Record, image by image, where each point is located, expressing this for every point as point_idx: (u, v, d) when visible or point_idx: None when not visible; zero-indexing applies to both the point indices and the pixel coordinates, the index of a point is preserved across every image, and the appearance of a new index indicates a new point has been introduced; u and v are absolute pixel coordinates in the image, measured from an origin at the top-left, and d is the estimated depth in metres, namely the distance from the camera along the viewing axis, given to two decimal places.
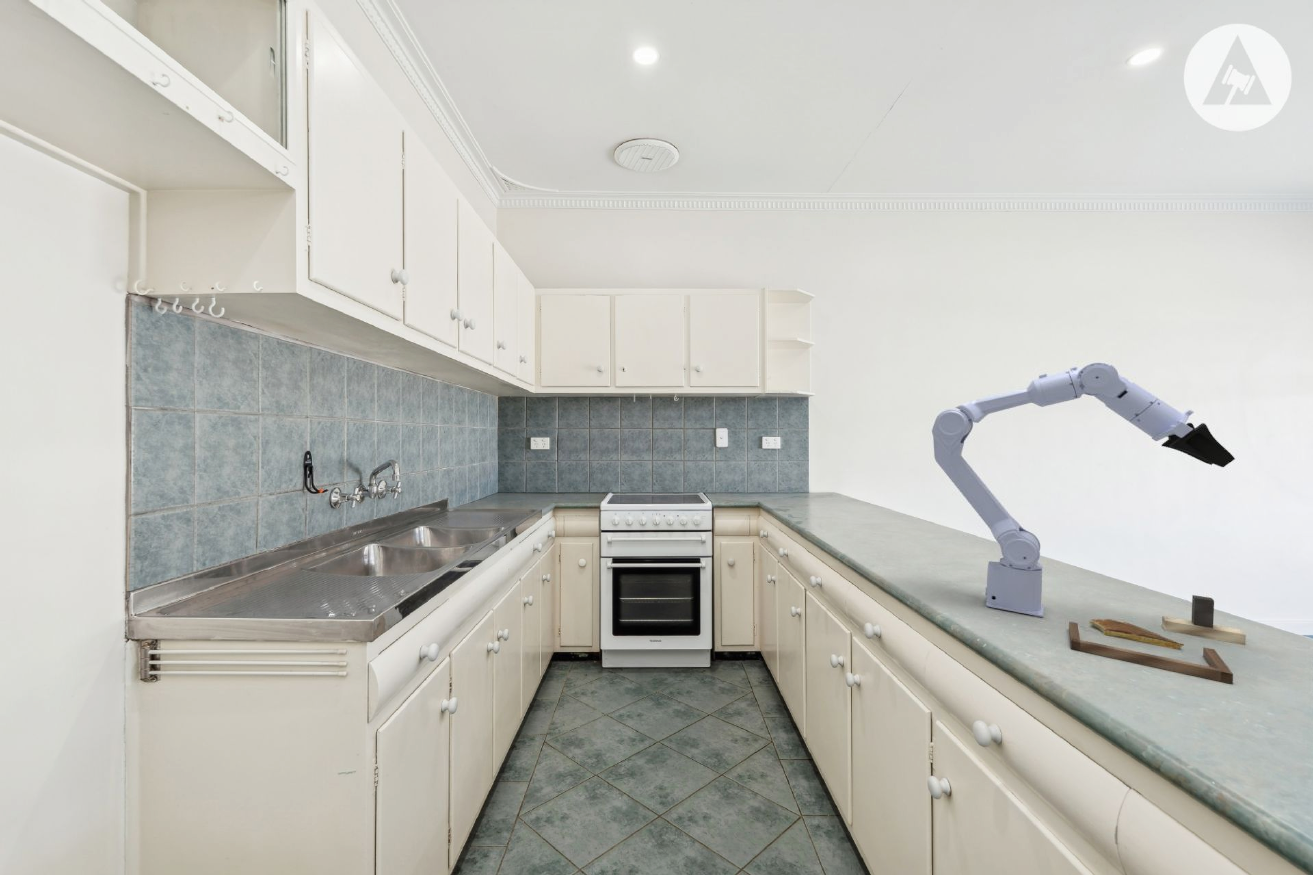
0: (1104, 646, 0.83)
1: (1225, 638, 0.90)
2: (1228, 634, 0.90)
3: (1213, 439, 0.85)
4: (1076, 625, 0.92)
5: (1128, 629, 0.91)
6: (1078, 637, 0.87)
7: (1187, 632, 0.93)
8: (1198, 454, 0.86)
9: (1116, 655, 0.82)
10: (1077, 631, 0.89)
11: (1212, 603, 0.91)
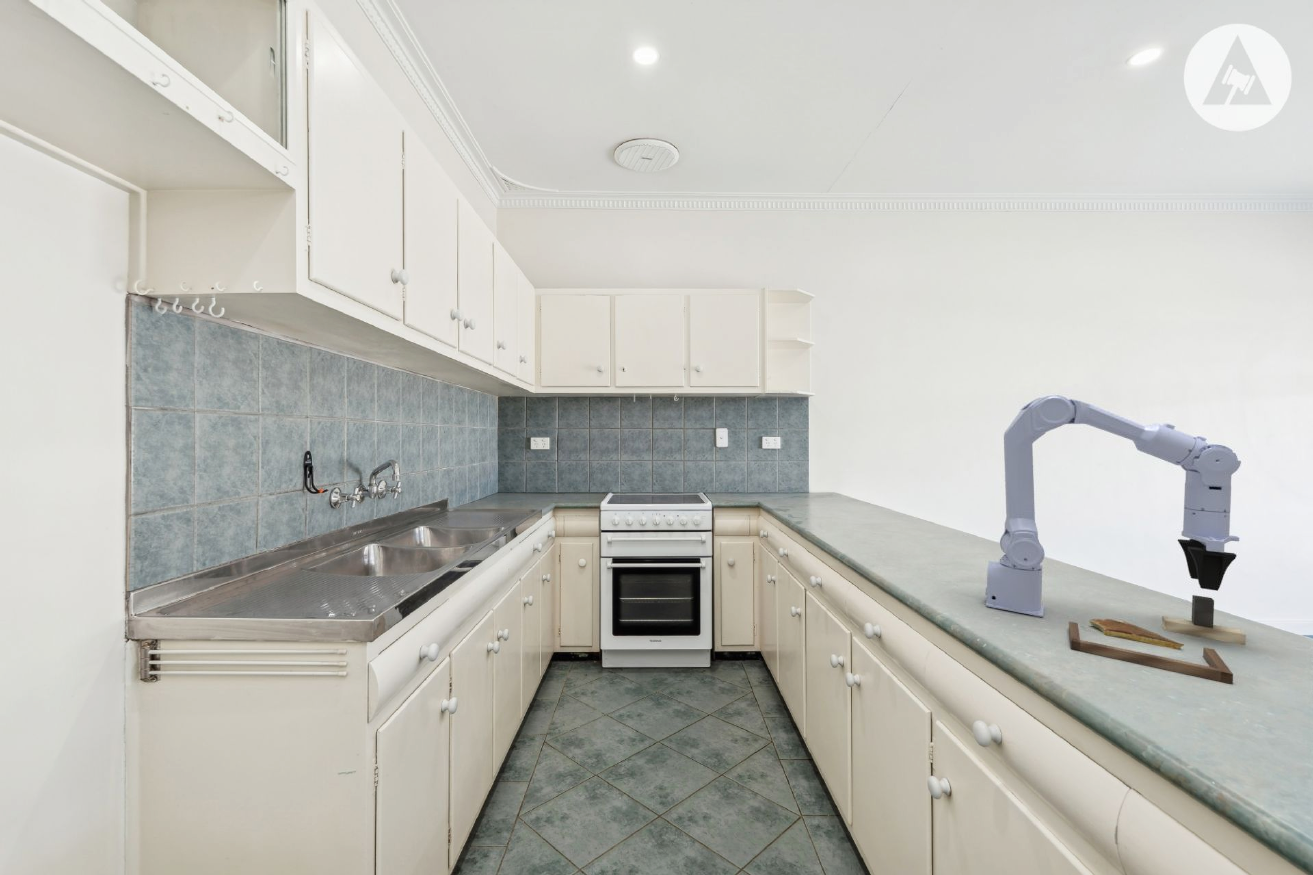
0: (1104, 646, 0.83)
1: (1225, 638, 0.90)
2: (1228, 634, 0.90)
3: (1224, 569, 0.87)
4: (1076, 625, 0.92)
5: (1128, 629, 0.91)
6: (1078, 637, 0.87)
7: (1187, 632, 0.93)
8: (1199, 568, 0.89)
9: (1116, 655, 0.82)
10: (1077, 631, 0.89)
11: (1212, 603, 0.91)
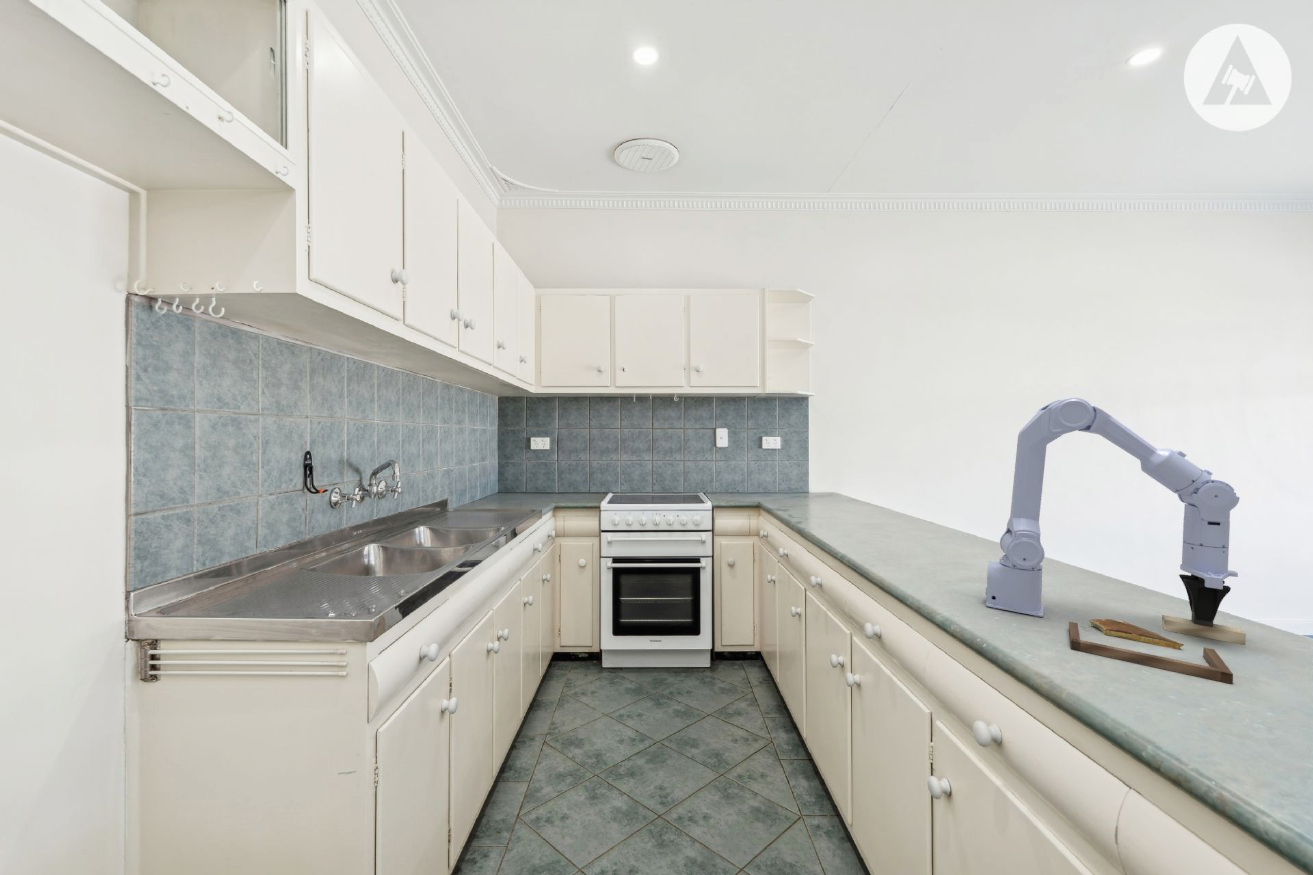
0: (1104, 646, 0.83)
1: (1225, 637, 0.90)
2: (1228, 633, 0.90)
3: (1219, 601, 0.90)
4: (1076, 625, 0.92)
5: (1128, 629, 0.91)
6: (1078, 637, 0.87)
7: (1187, 631, 0.93)
8: (1194, 600, 0.92)
9: (1116, 655, 0.82)
10: (1077, 631, 0.89)
11: None
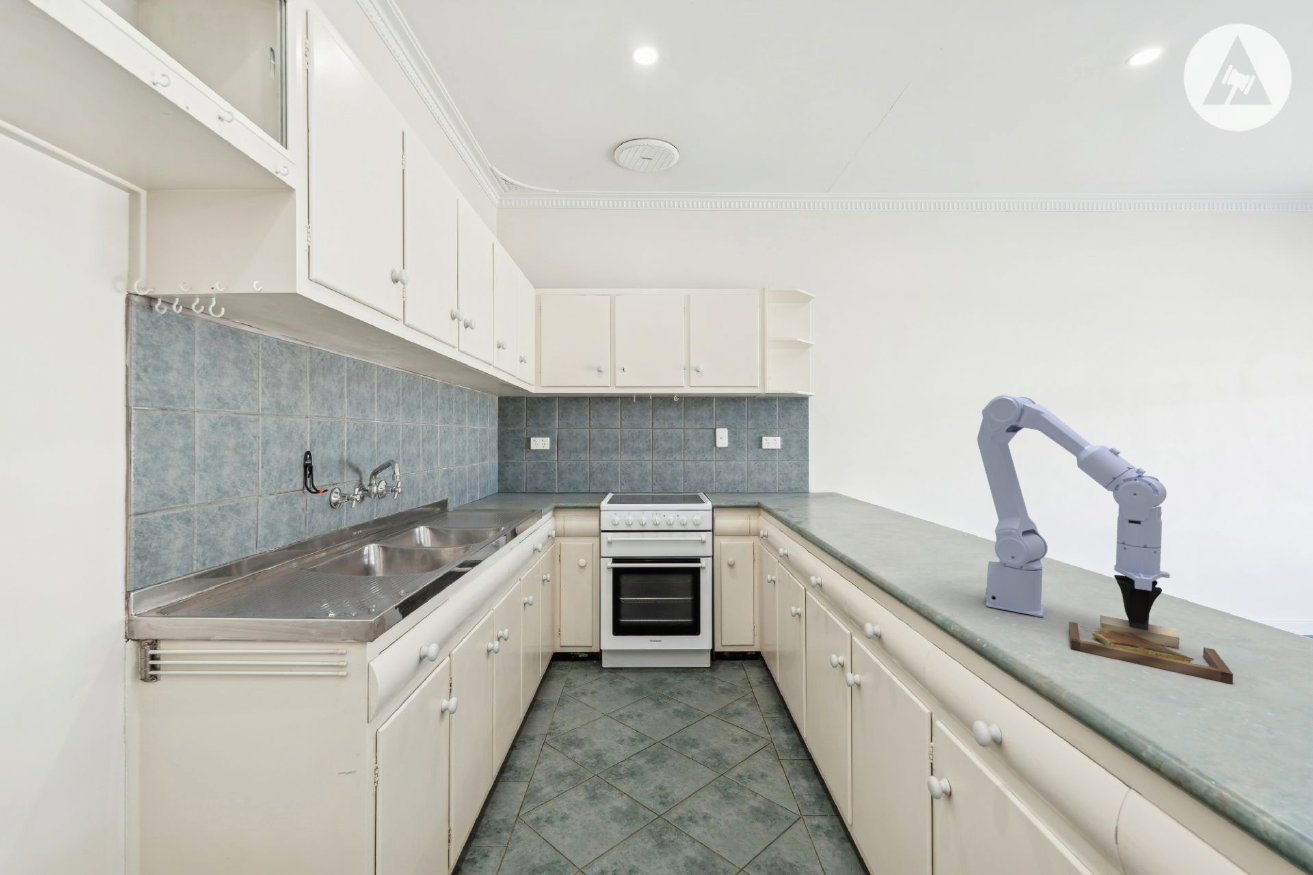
0: (1104, 646, 0.83)
1: (1159, 640, 0.88)
2: (1163, 637, 0.88)
3: (1151, 603, 0.87)
4: (1076, 625, 0.92)
5: (1134, 642, 0.86)
6: (1078, 637, 0.87)
7: None
8: (1127, 602, 0.89)
9: (1116, 655, 0.82)
10: (1077, 631, 0.89)
11: None
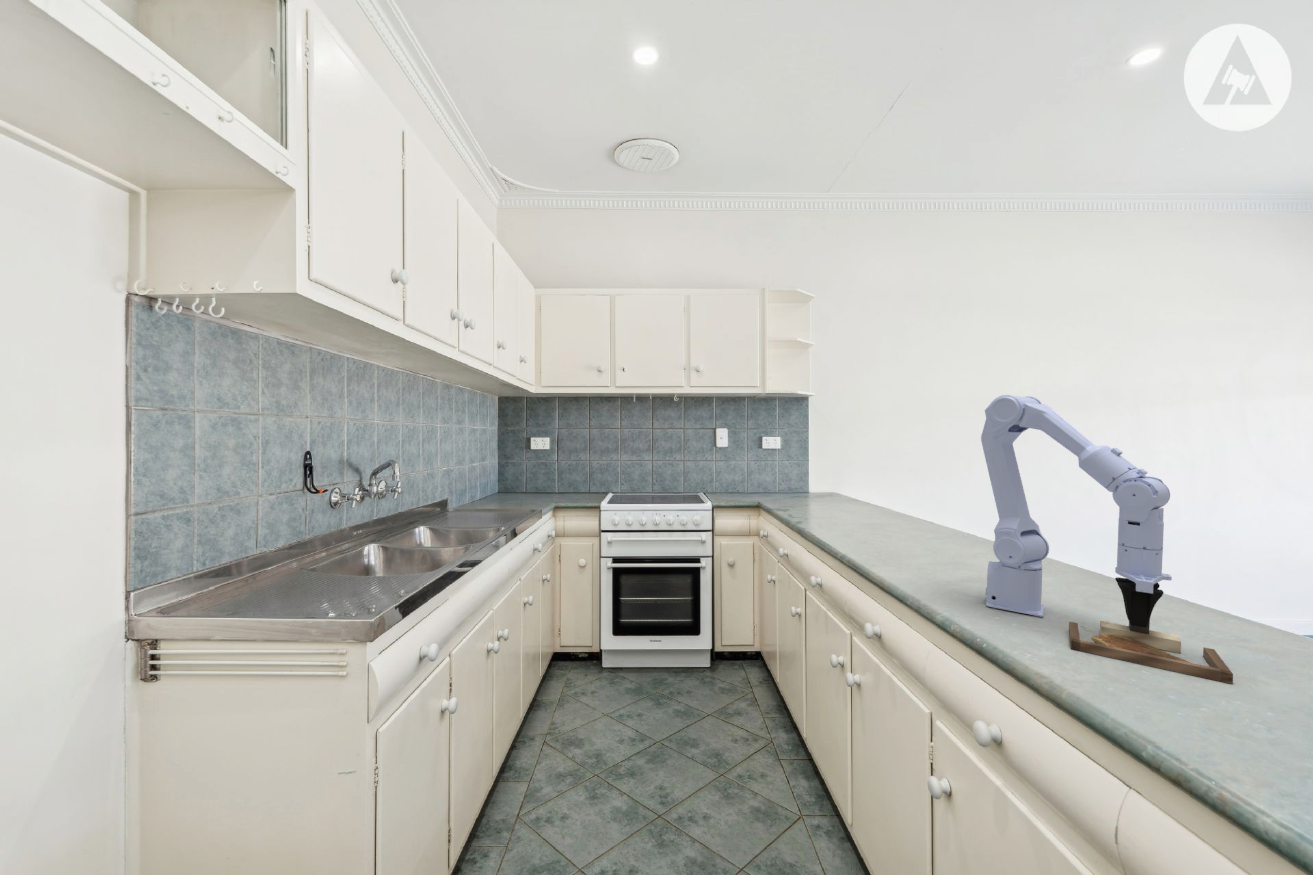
0: (1104, 646, 0.83)
1: (1161, 645, 0.86)
2: (1164, 641, 0.86)
3: (1152, 606, 0.86)
4: (1076, 625, 0.92)
5: (1134, 647, 0.84)
6: (1078, 637, 0.87)
7: None
8: (1127, 604, 0.88)
9: (1116, 655, 0.82)
10: (1077, 631, 0.89)
11: None
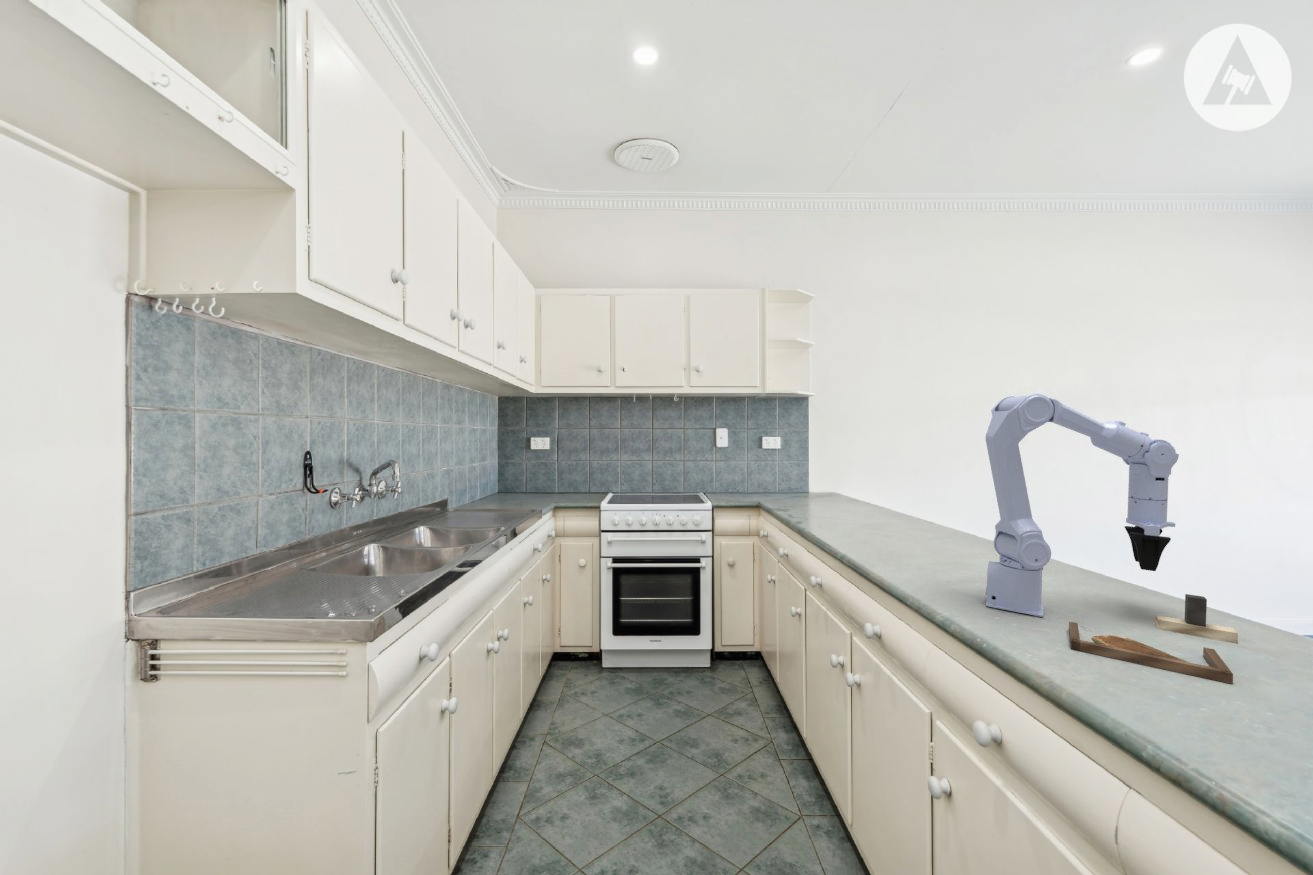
0: (1104, 646, 0.83)
1: (1218, 637, 0.90)
2: (1221, 633, 0.90)
3: (1160, 551, 0.97)
4: (1076, 625, 0.92)
5: (1134, 647, 0.84)
6: (1078, 637, 0.87)
7: (1180, 631, 0.93)
8: (1139, 551, 0.99)
9: (1116, 655, 0.82)
10: (1077, 631, 0.89)
11: (1205, 602, 0.92)
